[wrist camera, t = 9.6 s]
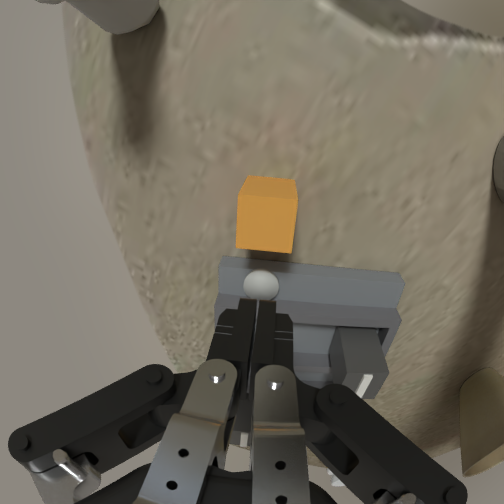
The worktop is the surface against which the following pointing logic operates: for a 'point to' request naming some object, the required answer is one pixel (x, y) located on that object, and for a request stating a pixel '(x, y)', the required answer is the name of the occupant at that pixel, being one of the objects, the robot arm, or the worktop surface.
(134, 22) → the salt shaker
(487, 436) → the plant pot
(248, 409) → the knob tagged
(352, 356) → the knob
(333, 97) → the worktop surface
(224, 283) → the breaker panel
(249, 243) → the block
